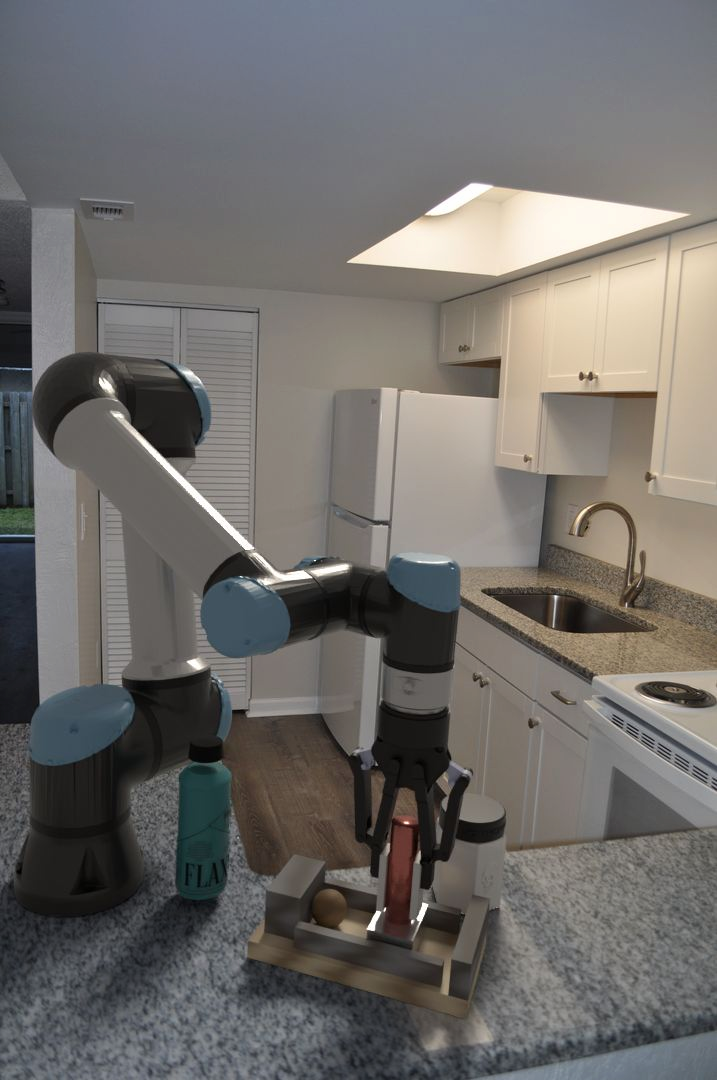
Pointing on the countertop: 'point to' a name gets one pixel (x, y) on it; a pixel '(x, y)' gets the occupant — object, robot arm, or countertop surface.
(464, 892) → the jar
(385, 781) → the robot arm
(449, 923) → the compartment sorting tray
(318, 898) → the nut
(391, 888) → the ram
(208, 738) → the beverage bottle
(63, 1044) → the countertop surface
